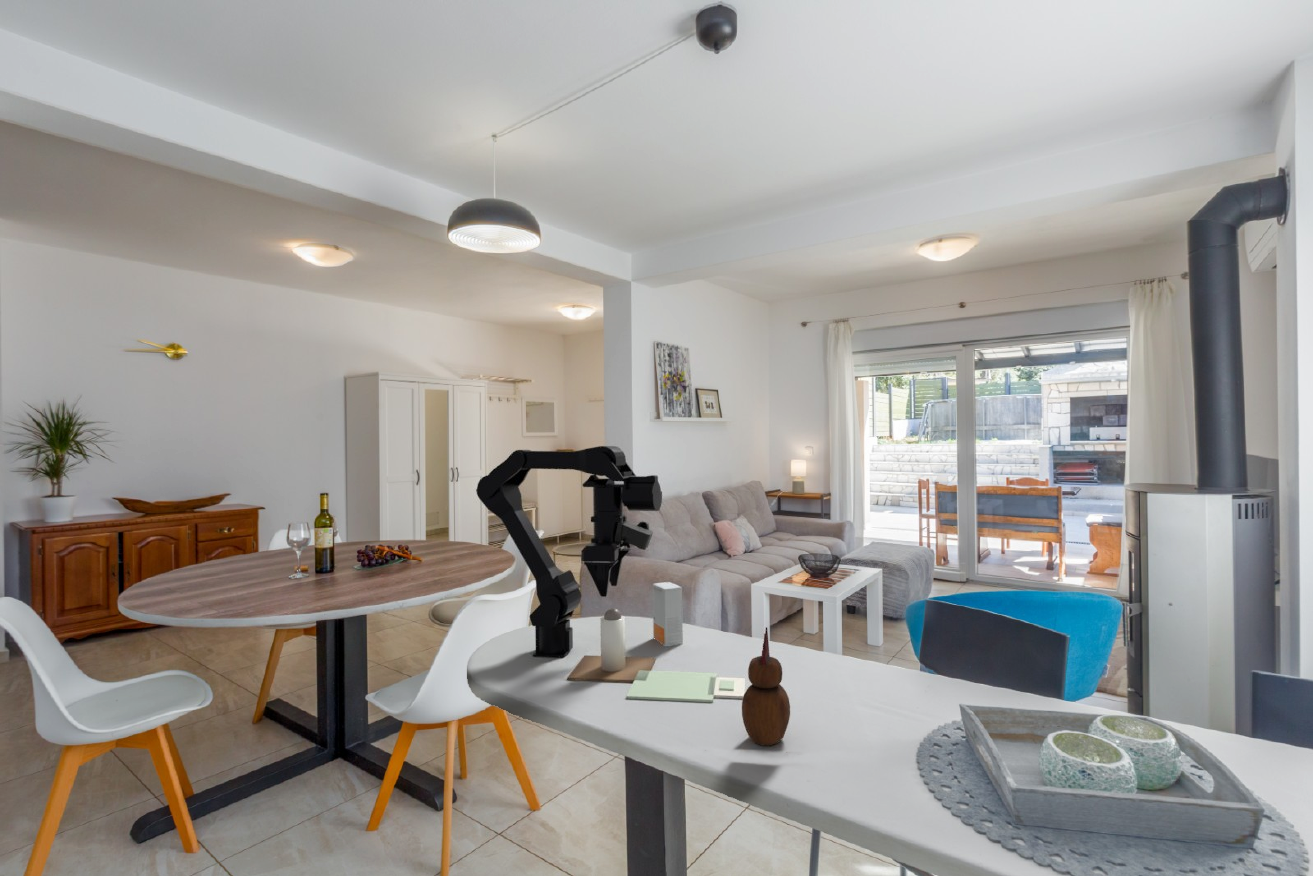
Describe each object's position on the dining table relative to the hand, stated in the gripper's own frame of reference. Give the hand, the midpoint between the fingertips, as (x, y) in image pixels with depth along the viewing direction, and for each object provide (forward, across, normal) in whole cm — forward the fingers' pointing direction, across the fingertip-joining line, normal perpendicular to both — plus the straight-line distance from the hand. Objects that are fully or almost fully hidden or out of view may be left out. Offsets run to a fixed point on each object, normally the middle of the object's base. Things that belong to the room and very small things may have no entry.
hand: (609, 591), depth 123 cm
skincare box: (+13, +11, -10) cm, 20 cm away
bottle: (+13, -6, -2) cm, 14 cm away
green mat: (+13, -13, -14) cm, 23 cm away
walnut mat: (+13, -6, -2) cm, 14 cm away
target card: (+13, -13, -23) cm, 29 cm away
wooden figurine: (+13, -31, -29) cm, 44 cm away
